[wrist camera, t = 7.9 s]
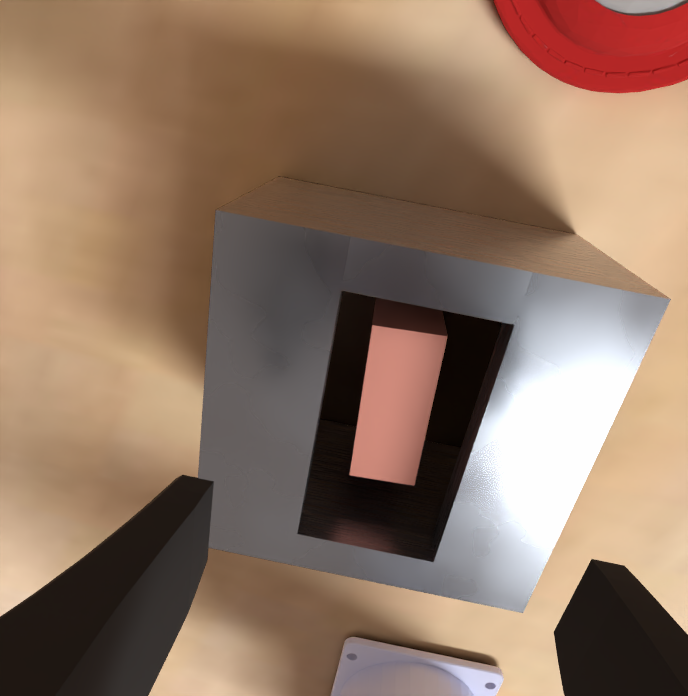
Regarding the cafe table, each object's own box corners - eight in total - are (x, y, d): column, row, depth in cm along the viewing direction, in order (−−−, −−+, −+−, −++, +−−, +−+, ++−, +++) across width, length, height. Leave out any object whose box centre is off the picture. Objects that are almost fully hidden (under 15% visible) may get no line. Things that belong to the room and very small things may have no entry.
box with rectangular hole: (488, 474, 21) (522, 612, 15) (250, 425, 21) (193, 544, 16) (577, 234, 17) (670, 299, 11) (279, 176, 17) (215, 209, 11)
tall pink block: (411, 402, 20) (414, 485, 16) (360, 394, 20) (349, 475, 16) (436, 281, 18) (447, 336, 14) (379, 272, 18) (372, 325, 14)
